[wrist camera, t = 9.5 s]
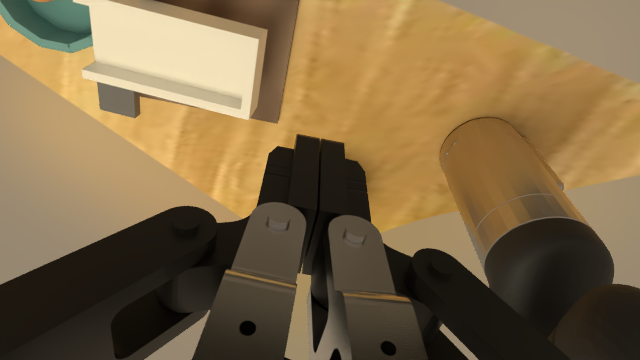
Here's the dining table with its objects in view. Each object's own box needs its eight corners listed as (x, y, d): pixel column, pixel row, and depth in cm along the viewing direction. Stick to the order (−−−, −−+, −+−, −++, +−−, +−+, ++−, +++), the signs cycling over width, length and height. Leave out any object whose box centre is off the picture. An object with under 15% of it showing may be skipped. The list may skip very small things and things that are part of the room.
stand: (299, -5, 39) (295, 10, 34) (278, 119, 47) (272, 146, 42) (127, -46, 37) (97, -36, 32) (134, 90, 45) (111, 115, 40)
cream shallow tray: (267, 29, 34) (258, 39, 32) (252, 142, 41) (244, 157, 38) (93, -16, 34) (71, -9, 32) (106, 105, 41) (88, 118, 38)
